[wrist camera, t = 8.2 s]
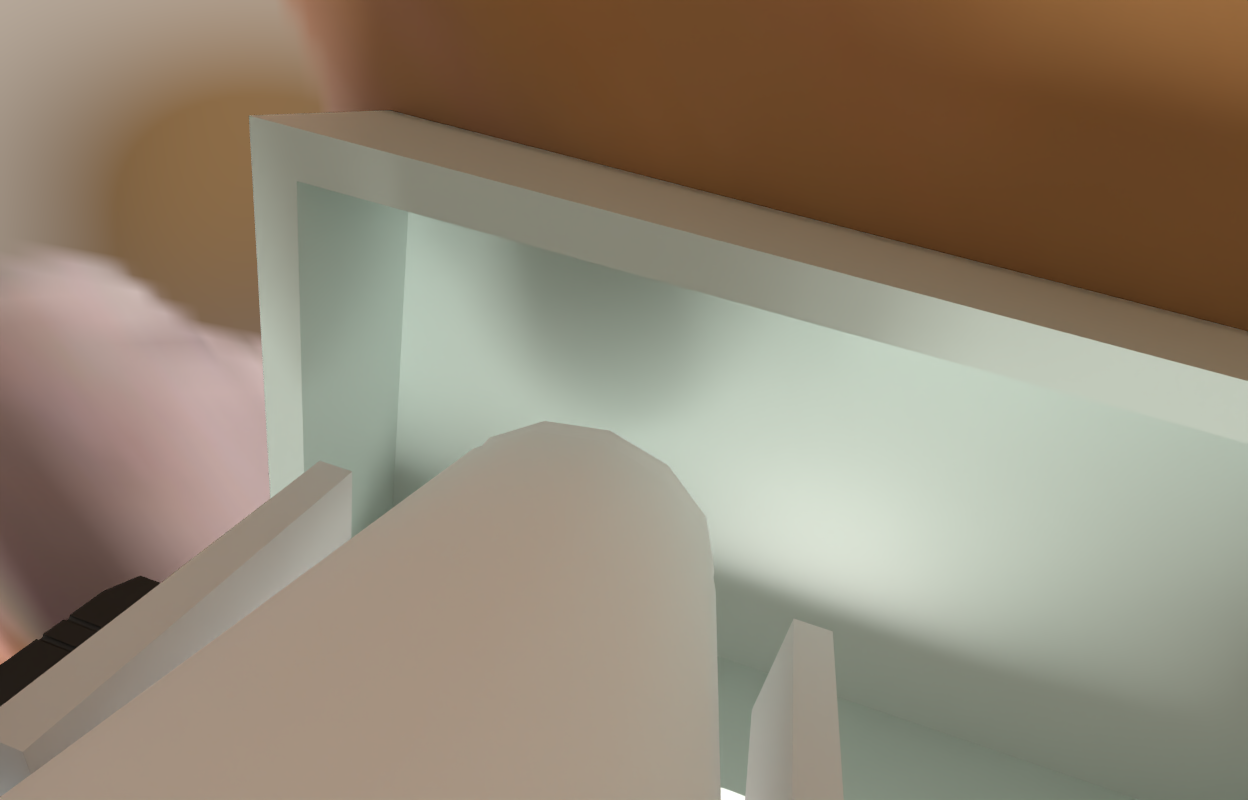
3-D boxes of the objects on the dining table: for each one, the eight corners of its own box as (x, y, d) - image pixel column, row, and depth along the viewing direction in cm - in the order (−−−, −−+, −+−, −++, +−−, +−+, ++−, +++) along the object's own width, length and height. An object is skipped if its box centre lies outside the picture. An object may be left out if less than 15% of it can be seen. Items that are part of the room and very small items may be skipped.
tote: (373, 547, 24) (278, 649, 19) (389, 110, 17) (249, 115, 13) (1307, 866, 20) (1450, 1081, 16) (1806, 475, 13) (2304, 662, 9)
